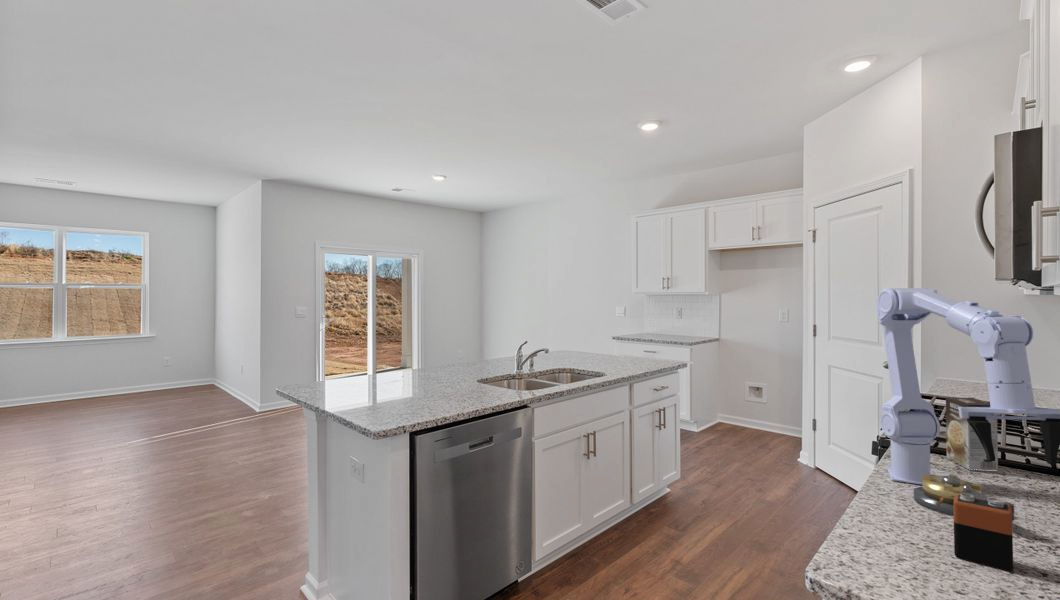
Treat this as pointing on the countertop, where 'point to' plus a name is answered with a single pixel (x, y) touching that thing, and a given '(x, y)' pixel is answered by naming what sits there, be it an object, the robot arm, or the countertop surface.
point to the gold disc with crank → (952, 489)
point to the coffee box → (968, 436)
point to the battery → (983, 531)
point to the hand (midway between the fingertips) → (1020, 462)
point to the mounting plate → (932, 502)
